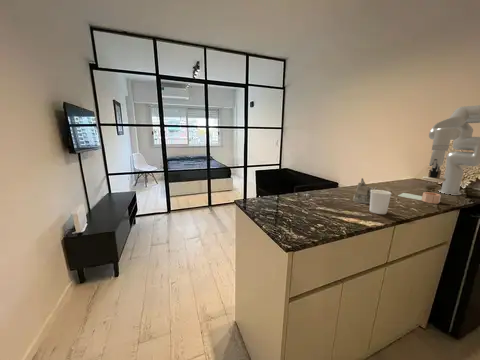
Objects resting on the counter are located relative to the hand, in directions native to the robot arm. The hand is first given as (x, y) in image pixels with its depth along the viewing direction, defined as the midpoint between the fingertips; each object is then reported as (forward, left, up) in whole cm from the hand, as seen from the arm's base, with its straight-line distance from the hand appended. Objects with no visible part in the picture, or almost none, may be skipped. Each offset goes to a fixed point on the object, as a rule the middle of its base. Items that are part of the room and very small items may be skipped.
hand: (434, 176), depth 132 cm
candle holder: (+46, -14, -18) cm, 51 cm away
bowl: (0, +1, -17) cm, 17 cm away
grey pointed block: (+29, -27, -18) cm, 43 cm away
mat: (-5, -10, -17) cm, 21 cm away
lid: (0, 0, -2) cm, 2 cm away
